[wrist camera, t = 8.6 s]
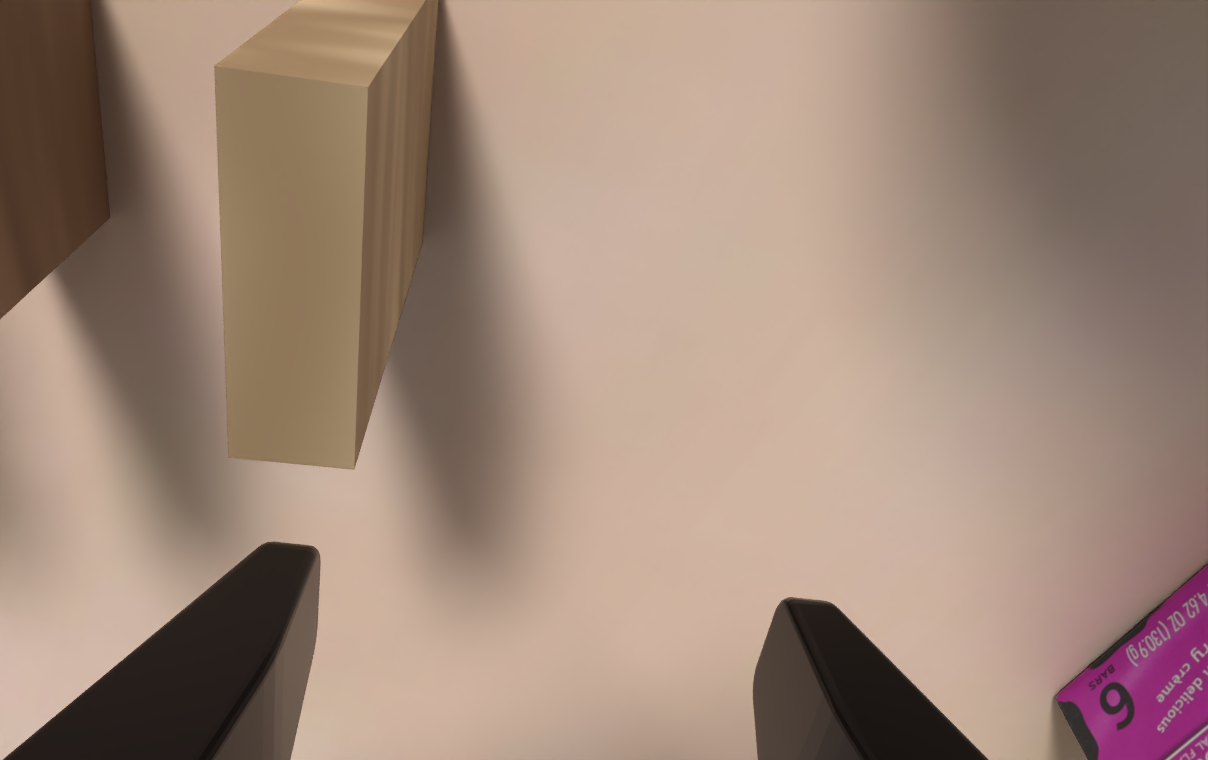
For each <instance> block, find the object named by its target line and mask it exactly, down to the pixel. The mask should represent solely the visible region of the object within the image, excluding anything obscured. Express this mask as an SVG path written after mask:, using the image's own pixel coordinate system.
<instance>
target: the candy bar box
mask: <svg viewBox="0 0 1208 760" xmlns="http://www.w3.org/2000/svg"><path fill="white" fill-rule="evenodd" d="M1056 700H1057V702H1058V704H1059V706H1060V708H1061V709H1062V711H1063V714H1064V716H1065V718H1066V720H1067V722H1068V724H1069V725H1070V727H1071V729H1072V731H1073V733H1074V734H1075V736H1076V738H1077V740H1078V742H1079V744H1080V745H1081V747H1082V749H1083V751H1084V753H1085V755H1086V757H1087V759H1088V760H1208V564H1207V565H1206V566H1205V567H1204V568H1203V569H1202V570H1200V571H1199V572H1198V573H1197V574H1196V575H1195V576H1194V577H1192V578H1191V579H1190V580H1189V581H1188V582H1187V583H1186V584H1184V585H1183V586H1182V587H1181V588H1180V589H1179V590H1178V591H1176V592H1175V593H1174V594H1173V595H1172V596H1171V597H1170V598H1168V599H1167V600H1166V601H1165V602H1164V603H1163V604H1162V605H1160V606H1159V607H1158V608H1157V609H1156V610H1155V611H1153V612H1152V613H1151V614H1150V615H1149V616H1147V617H1146V618H1145V619H1144V620H1143V621H1141V622H1140V623H1139V624H1138V625H1137V626H1136V627H1134V628H1133V629H1132V630H1131V631H1130V632H1129V633H1128V634H1126V635H1125V636H1124V637H1123V638H1122V639H1121V640H1119V641H1118V642H1117V643H1116V644H1115V645H1114V646H1113V647H1111V648H1110V649H1109V650H1108V651H1107V652H1106V653H1104V654H1103V655H1102V656H1101V657H1099V658H1098V659H1097V660H1096V661H1095V662H1094V663H1092V664H1091V665H1090V666H1089V667H1088V668H1087V669H1086V670H1084V671H1083V672H1082V673H1081V674H1080V675H1079V676H1078V677H1076V678H1075V679H1074V680H1073V681H1072V682H1071V683H1069V684H1068V685H1067V686H1066V687H1065V688H1064V689H1062V690H1061V691H1060V692H1059V693H1058V694H1057V695H1056Z"/></svg>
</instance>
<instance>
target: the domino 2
mask: <svg viewBox="0 0 1208 760" xmlns="http://www.w3.org/2000/svg"><path fill="white" fill-rule="evenodd" d="M438 4H439V0H300V1H299V2H298V3H297V4H295V5H294V6H293V7H291V8H290V9H289V10H287V11H286V12H285V13H283V14H282V15H281V16H279V17H278V18H277V19H275V20H274V21H273V22H272V23H270V24H269V25H268V26H266V27H265V28H264V29H262V30H261V31H260V32H258V33H257V34H256V35H254V36H253V37H252V38H251V39H249V40H248V41H247V42H245V43H244V44H243V45H241V46H240V47H239V48H237V49H236V50H235V51H233V52H232V53H231V54H230V55H228V56H227V57H226V58H224V59H223V60H222V61H220V62H219V63H218V64H216V65H215V66H214V68H215V95H216V123H217V150H218V178H219V205H220V233H221V260H222V288H223V315H224V343H225V370H226V398H227V425H228V453H229V458H239V459H250V460H260V461H270V462H281V463H291V464H301V465H312V466H322V467H332V468H343V469H353V470H354V469H355V465H356V462H357V459H358V455H359V452H360V449H361V445H362V442H363V439H364V435H365V432H366V429H367V425H368V422H369V419H370V415H371V412H372V409H373V405H374V402H375V399H376V395H377V392H378V389H379V385H380V382H381V379H382V375H383V372H384V369H385V365H386V362H387V359H388V355H389V352H390V349H391V346H392V342H393V339H394V336H395V332H396V329H397V326H398V322H399V319H400V316H401V312H402V309H403V306H404V302H405V299H406V296H407V292H408V289H409V286H410V282H411V279H412V276H413V272H414V269H415V266H416V262H417V259H418V256H419V252H420V249H421V246H422V242H423V228H424V213H425V198H426V183H427V169H428V154H429V139H430V124H431V109H432V94H433V79H434V64H435V49H436V34H437V19H438Z"/></svg>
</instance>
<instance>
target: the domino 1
mask: <svg viewBox="0 0 1208 760" xmlns="http://www.w3.org/2000/svg"><path fill="white" fill-rule="evenodd" d="M109 218H110V214H109V203H108V192H107V181H106V170H105V158H104V147H103V136H102V125H101V114H100V103H99V92H98V81H97V70H96V59H95V48H94V37H93V25H92V14H91V3H90V0H0V319H1V318H2V317H3V316H4V315H5V314H6V313H7V312H8V311H10V310H11V309H12V308H13V307H14V306H15V305H16V304H17V303H18V302H19V301H20V300H21V299H23V298H24V297H25V296H26V295H27V294H28V293H29V292H30V291H31V290H32V289H33V288H34V287H35V286H37V285H38V284H39V283H40V282H41V281H42V280H43V279H44V278H45V277H46V276H47V275H48V274H50V273H51V272H52V271H53V270H54V269H55V268H56V267H57V266H58V265H59V264H60V263H61V262H63V261H64V260H65V259H66V258H67V257H68V256H69V255H70V254H71V253H72V252H73V251H74V250H76V249H77V248H78V247H79V246H80V245H81V244H82V243H83V242H84V241H85V240H86V239H87V238H89V237H90V236H91V235H92V234H93V233H94V232H95V231H96V230H97V229H98V228H99V227H100V226H101V225H103V224H104V223H105V222H106V221H107V220H108V219H109Z"/></svg>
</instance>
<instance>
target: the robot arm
mask: <svg viewBox="0 0 1208 760" xmlns="http://www.w3.org/2000/svg"><path fill="white" fill-rule="evenodd" d="M319 584H320V554H319V552H318V550H317V549H316V548H315V547H313V546H309V545H300V544H290V543H281V542H267V543H265V544H262V545H261V546H259V547H258V548H257V549H256V550H254V551H253V552H252V553H251V554H250V555H248V556H247V557H246V558H245V559H244V560H242V561H241V562H240V563H239V564H238V565H236V566H235V567H234V568H233V569H232V570H230V571H229V572H228V573H227V574H225V575H224V576H223V577H222V578H221V579H219V580H218V581H217V582H216V583H215V584H213V585H212V586H211V587H210V588H209V589H207V590H206V591H205V592H204V593H203V594H201V595H200V596H199V597H198V598H197V599H195V600H194V601H193V602H192V603H191V604H189V605H188V606H187V607H186V608H185V609H183V610H182V611H181V612H180V613H179V614H177V615H176V616H175V617H174V618H173V619H171V620H170V621H169V622H168V623H167V624H165V625H164V626H163V627H162V628H161V629H159V630H158V631H157V632H156V633H155V634H153V635H152V636H151V637H150V638H149V639H147V640H146V641H145V642H144V643H143V644H141V645H140V646H139V647H138V648H136V649H135V650H134V651H133V652H132V653H130V654H129V655H128V656H127V657H126V658H124V659H123V660H122V661H121V662H120V663H118V664H117V665H116V666H115V667H114V668H112V669H111V670H110V671H109V672H108V673H106V674H105V675H104V676H103V677H102V678H100V679H99V680H98V681H97V682H96V683H94V684H93V685H92V686H91V687H90V688H88V689H87V690H86V691H85V692H84V693H82V694H81V695H80V696H79V697H78V698H76V699H75V700H74V701H73V702H72V703H70V704H69V705H68V706H67V707H66V708H64V709H63V710H62V711H61V712H60V713H58V714H57V715H56V716H55V717H54V718H52V719H51V720H50V721H49V722H47V723H46V724H45V725H44V726H43V727H41V728H40V729H39V730H38V731H37V732H35V733H34V734H33V735H32V736H31V737H29V738H28V739H27V740H26V741H25V742H23V743H22V744H21V745H20V746H19V747H17V748H16V749H15V750H14V751H13V752H11V753H10V754H9V755H8V756H7V757H5V758H4V759H3V760H290V759H291V754H292V750H293V745H294V741H295V736H296V732H297V727H298V723H299V718H300V713H301V709H302V704H303V700H304V695H305V691H306V686H307V682H308V677H309V673H310V668H311V664H312V659H313V654H314V649H315V643H316V636H317V626H318V605H319ZM753 705H754V717H755V729H756V742H757V754H758V760H988V759H987V758H986V757H985V756H984V755H983V754H982V753H981V752H980V751H979V750H978V749H977V748H976V747H975V746H974V745H973V744H972V743H971V742H970V740H969V739H968V738H967V737H966V736H965V735H964V734H963V733H962V732H961V731H960V730H959V729H958V728H957V727H956V726H955V725H954V724H953V723H952V722H951V721H950V720H949V719H948V718H947V717H946V716H945V715H944V714H943V713H942V712H941V711H940V710H939V709H938V708H937V707H936V706H935V705H934V704H933V703H932V702H931V701H930V700H929V699H928V698H927V697H926V696H925V695H924V694H923V693H922V692H921V691H920V690H919V689H918V688H917V687H916V686H915V685H914V684H913V683H912V682H911V681H910V680H909V679H908V678H907V677H906V676H905V675H904V674H903V673H902V672H901V671H900V670H899V669H898V668H897V667H896V666H895V665H894V664H893V663H892V662H891V661H890V660H889V659H888V658H887V657H886V656H885V655H884V654H883V653H882V652H881V651H880V650H879V649H878V648H877V647H876V646H875V645H874V644H873V643H872V642H871V641H870V640H869V639H868V638H867V637H866V636H865V635H864V634H863V633H862V632H861V631H860V630H859V629H858V628H857V626H856V625H855V624H854V623H853V622H852V621H851V620H850V619H849V618H848V617H847V616H846V615H845V614H844V613H843V612H842V611H841V610H840V609H839V608H837V607H836V606H835V605H834V604H832V603H830V602H827V601H822V600H812V599H803V598H794V597H789V598H786V599H784V600H782V601H781V602H780V604H779V605H778V607H777V608H776V611H775V613H774V616H773V619H772V622H771V625H770V628H769V631H768V634H767V637H766V640H765V642H764V645H763V648H762V651H761V654H760V657H759V660H758V663H757V666H756V670H755V675H754V682H753Z"/></svg>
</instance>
